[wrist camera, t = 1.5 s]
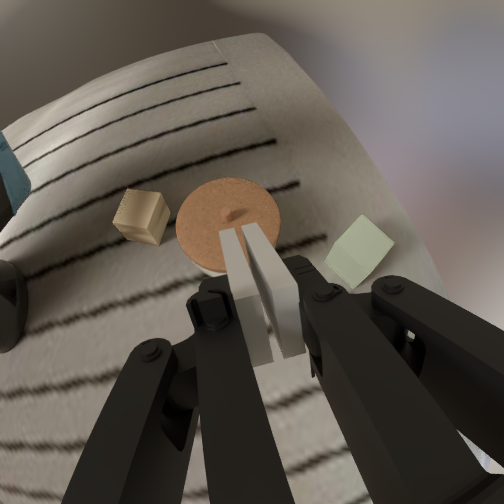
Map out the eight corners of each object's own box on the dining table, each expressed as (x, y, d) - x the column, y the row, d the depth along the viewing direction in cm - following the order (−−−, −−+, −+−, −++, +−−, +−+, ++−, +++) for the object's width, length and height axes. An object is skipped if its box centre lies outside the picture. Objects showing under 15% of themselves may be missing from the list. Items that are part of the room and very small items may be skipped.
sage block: (324, 261, 36) (335, 241, 30) (348, 236, 37) (362, 213, 32) (353, 289, 34) (370, 273, 29) (376, 262, 36) (394, 243, 30)
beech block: (127, 239, 38) (112, 222, 33) (139, 208, 39) (127, 188, 35) (159, 246, 37) (146, 228, 32) (170, 213, 39) (160, 192, 34)
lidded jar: (224, 199, 40) (216, 153, 31) (292, 239, 37) (303, 198, 28) (173, 259, 36) (149, 225, 28) (243, 309, 34) (238, 287, 25)
